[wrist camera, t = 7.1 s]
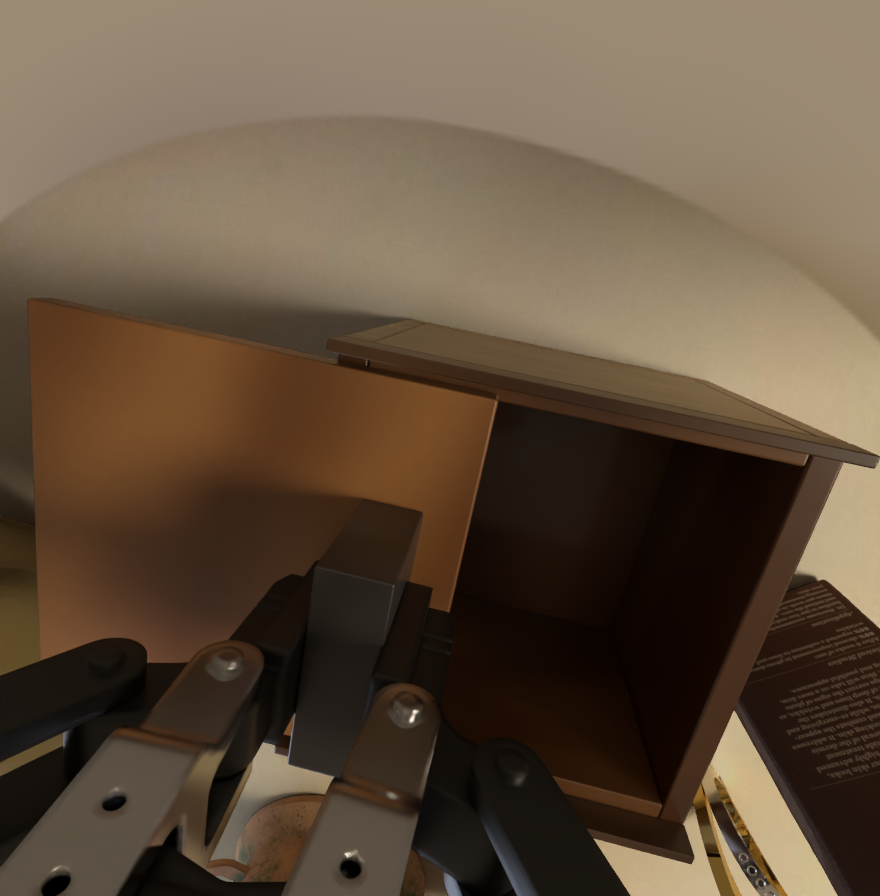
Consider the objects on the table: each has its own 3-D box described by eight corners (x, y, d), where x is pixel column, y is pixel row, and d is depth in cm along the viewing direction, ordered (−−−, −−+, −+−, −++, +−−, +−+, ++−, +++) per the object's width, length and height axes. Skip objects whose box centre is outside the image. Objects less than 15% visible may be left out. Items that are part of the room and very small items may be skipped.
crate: (709, 381, 22) (881, 456, 12) (619, 638, 26) (692, 865, 15) (408, 318, 23) (327, 338, 13) (364, 577, 26) (273, 753, 16)
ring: (772, 822, 27) (874, 1026, 20) (710, 839, 28) (786, 1043, 20) (716, 718, 26) (802, 894, 18) (653, 739, 27) (711, 916, 19)
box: (724, 695, 26) (899, 1020, 14) (691, 618, 25) (848, 899, 13) (859, 655, 24) (1174, 981, 13) (828, 572, 23) (1137, 843, 12)
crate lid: (499, 394, 13) (494, 440, 9) (417, 748, 17) (386, 901, 12) (51, 297, 14) (-144, 298, 10) (59, 654, 17) (-84, 768, 13)
